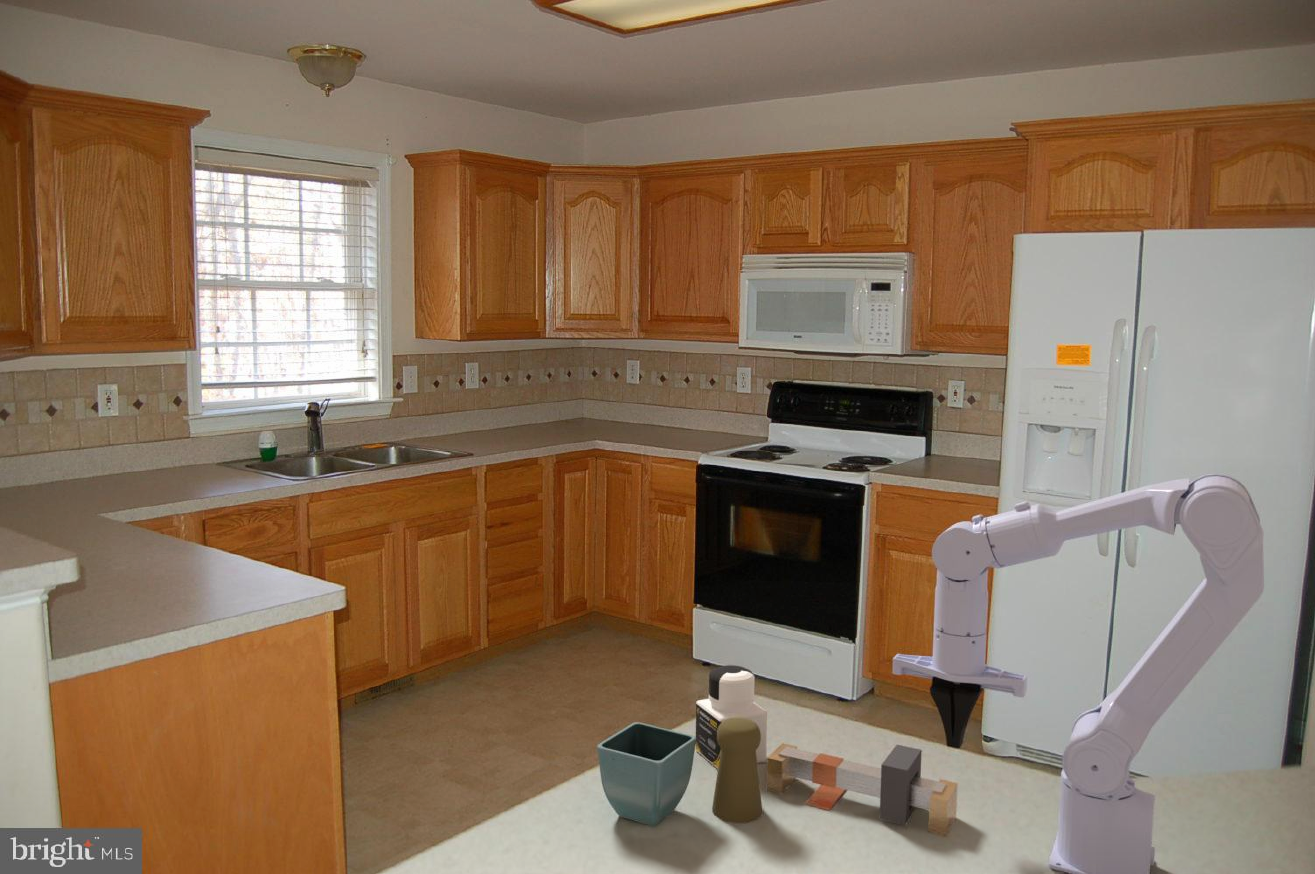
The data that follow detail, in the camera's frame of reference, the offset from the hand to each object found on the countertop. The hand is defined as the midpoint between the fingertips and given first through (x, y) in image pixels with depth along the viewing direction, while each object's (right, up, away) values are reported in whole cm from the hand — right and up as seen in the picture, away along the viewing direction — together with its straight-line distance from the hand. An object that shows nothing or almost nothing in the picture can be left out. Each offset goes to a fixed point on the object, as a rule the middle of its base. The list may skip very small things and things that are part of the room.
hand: (954, 744), depth 112 cm
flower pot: (-35, -10, +4) cm, 37 cm away
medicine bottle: (-24, -8, +19) cm, 32 cm away
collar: (-5, -10, +4) cm, 12 cm away
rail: (-10, -9, +6) cm, 15 cm away
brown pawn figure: (-25, -10, +5) cm, 27 cm away
